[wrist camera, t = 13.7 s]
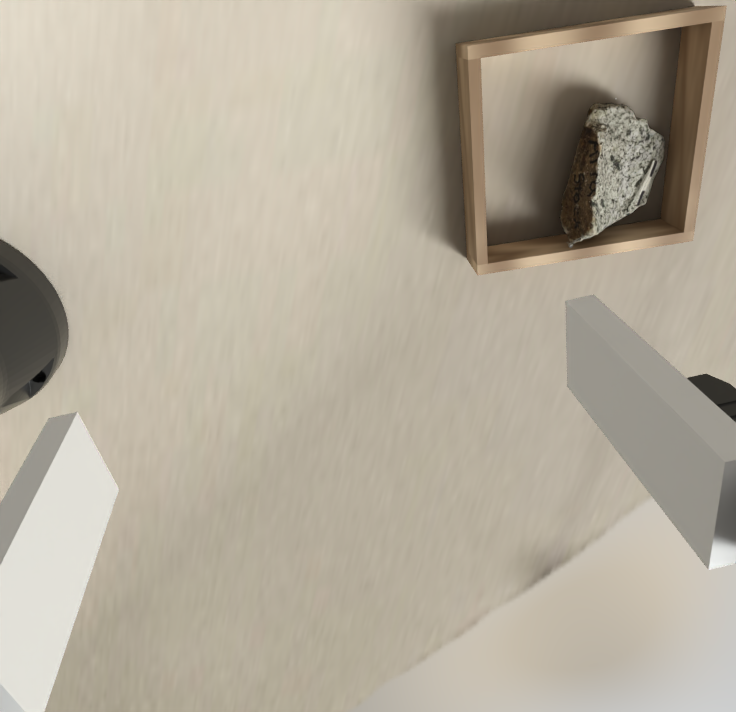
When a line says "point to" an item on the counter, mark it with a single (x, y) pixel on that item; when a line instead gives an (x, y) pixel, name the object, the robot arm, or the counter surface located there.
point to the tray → (683, 150)
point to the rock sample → (609, 170)
